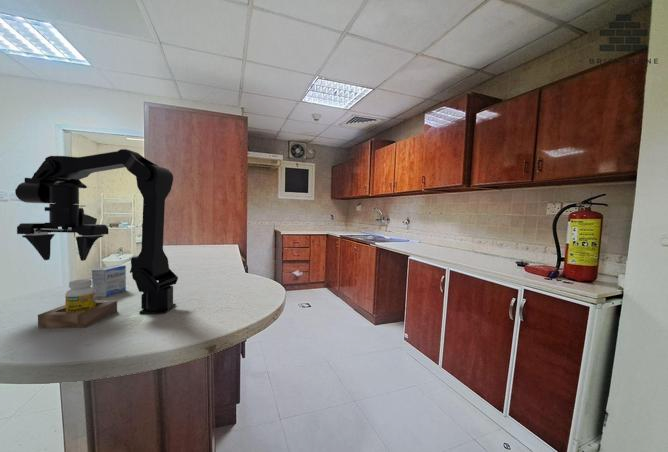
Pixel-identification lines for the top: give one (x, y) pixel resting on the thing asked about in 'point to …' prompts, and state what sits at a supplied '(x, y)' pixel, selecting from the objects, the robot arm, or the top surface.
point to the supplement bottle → (80, 296)
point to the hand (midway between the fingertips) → (65, 260)
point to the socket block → (76, 315)
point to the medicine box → (109, 280)
